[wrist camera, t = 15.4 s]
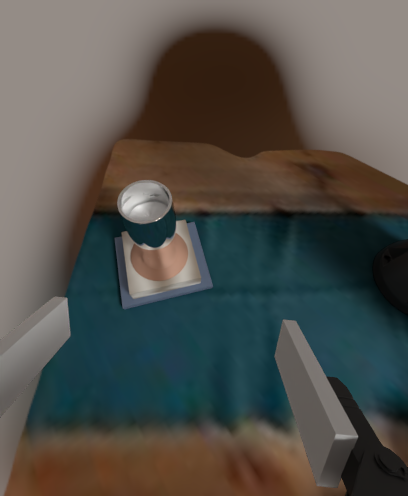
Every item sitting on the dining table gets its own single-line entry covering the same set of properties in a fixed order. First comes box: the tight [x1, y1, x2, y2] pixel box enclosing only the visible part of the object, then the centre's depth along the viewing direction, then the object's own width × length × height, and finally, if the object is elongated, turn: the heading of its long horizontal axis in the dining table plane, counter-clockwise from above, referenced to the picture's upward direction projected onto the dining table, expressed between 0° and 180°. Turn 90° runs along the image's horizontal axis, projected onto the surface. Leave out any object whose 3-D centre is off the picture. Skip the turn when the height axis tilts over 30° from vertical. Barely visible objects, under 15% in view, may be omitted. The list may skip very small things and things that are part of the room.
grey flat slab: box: [115, 222, 213, 309], centre depth 46 cm, size 16×14×1 cm
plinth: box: [122, 220, 201, 299], centre depth 44 cm, size 12×12×3 cm
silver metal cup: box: [117, 180, 177, 270], centre depth 36 cm, size 7×7×15 cm
